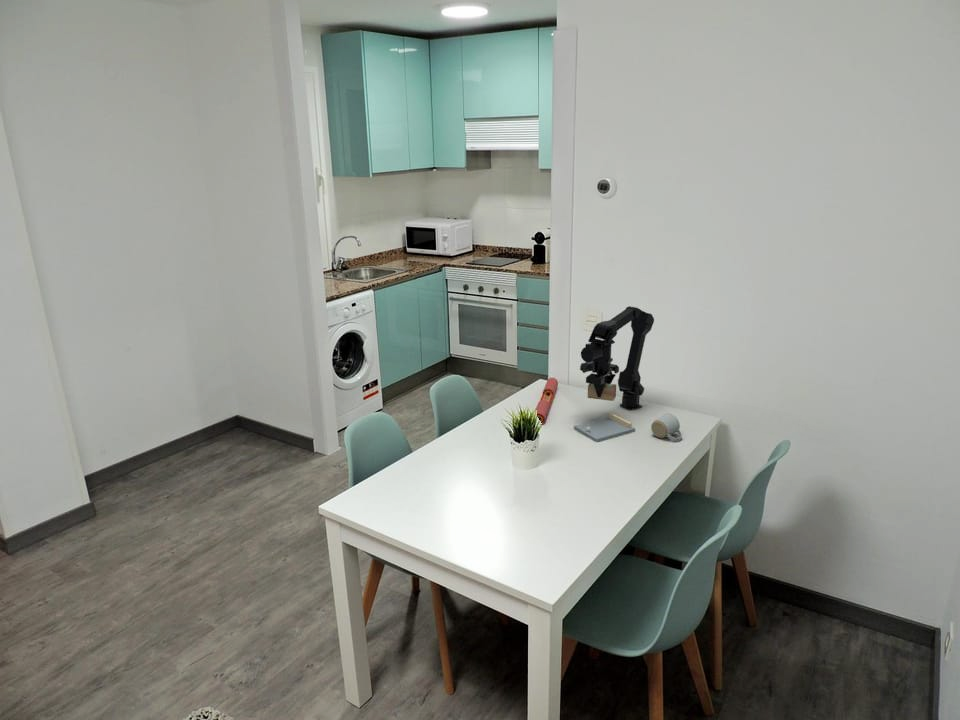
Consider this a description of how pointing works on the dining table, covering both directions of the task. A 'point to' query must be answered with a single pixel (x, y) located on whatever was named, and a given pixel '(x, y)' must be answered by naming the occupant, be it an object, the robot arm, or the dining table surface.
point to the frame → (607, 393)
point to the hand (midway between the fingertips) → (601, 394)
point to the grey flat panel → (605, 428)
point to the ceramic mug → (666, 427)
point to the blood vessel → (546, 399)
